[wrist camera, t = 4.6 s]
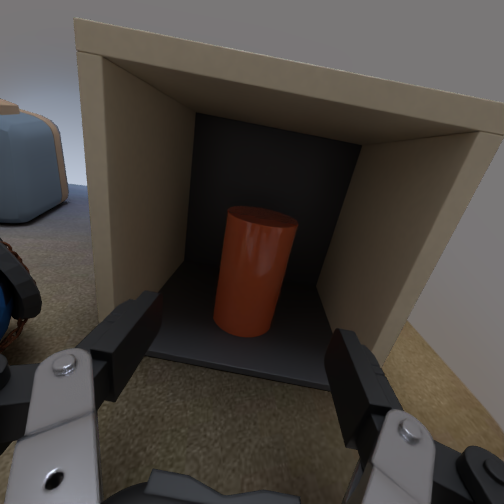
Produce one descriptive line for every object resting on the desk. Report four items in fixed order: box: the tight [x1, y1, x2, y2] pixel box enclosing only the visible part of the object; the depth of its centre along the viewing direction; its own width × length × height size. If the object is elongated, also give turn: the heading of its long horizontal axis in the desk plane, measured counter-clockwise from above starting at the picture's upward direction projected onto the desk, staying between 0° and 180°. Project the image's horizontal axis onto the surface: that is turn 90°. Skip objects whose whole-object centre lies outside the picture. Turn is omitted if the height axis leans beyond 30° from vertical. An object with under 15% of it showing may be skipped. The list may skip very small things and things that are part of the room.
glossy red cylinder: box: [212, 206, 298, 338], centre depth 21 cm, size 6×6×10 cm
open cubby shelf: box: [73, 17, 504, 391], centre depth 21 cm, size 20×16×19 cm
